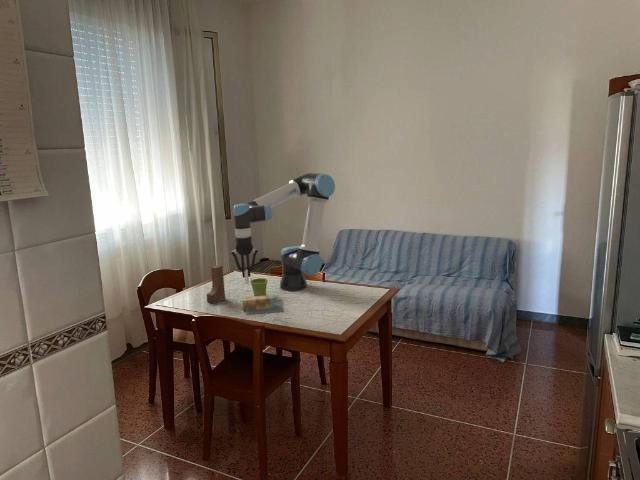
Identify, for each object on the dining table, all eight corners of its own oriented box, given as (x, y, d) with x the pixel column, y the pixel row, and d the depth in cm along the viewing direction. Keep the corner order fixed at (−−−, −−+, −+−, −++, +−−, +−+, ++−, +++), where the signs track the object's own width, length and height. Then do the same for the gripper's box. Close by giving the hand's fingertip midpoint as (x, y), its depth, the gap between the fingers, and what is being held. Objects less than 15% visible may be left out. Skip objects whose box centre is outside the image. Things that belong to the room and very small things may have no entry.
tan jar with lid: (243, 306, 234) (273, 304, 236) (243, 310, 229) (273, 307, 231) (242, 297, 233) (272, 295, 235) (242, 300, 228) (273, 298, 230)
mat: (281, 300, 242) (281, 300, 242) (283, 311, 227) (283, 310, 227) (246, 303, 240) (246, 302, 240) (246, 314, 224) (246, 314, 224)
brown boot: (212, 303, 242) (209, 270, 238) (206, 302, 244) (203, 269, 240) (225, 298, 249) (222, 265, 245) (219, 297, 251) (216, 264, 248)
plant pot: (264, 299, 245) (263, 283, 243) (248, 298, 247) (247, 282, 246) (271, 294, 253) (270, 278, 252) (255, 292, 256) (254, 277, 254)
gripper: (257, 233, 229) (260, 279, 234) (230, 235, 227) (234, 282, 232) (257, 237, 222) (260, 284, 227) (229, 238, 220) (233, 286, 225)
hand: (247, 283), depth 230 cm, fingers closed
